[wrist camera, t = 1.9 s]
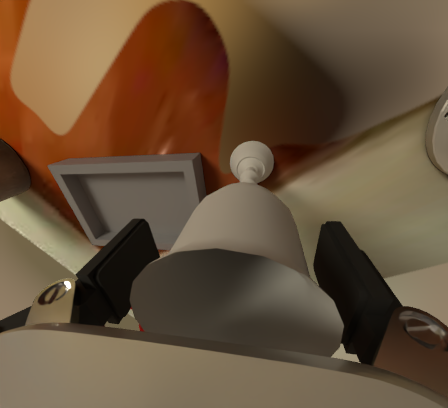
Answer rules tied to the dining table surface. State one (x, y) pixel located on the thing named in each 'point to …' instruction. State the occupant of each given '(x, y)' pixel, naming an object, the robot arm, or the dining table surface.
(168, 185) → the tray
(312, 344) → the chalice
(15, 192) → the pillar candle
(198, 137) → the dining table surface
